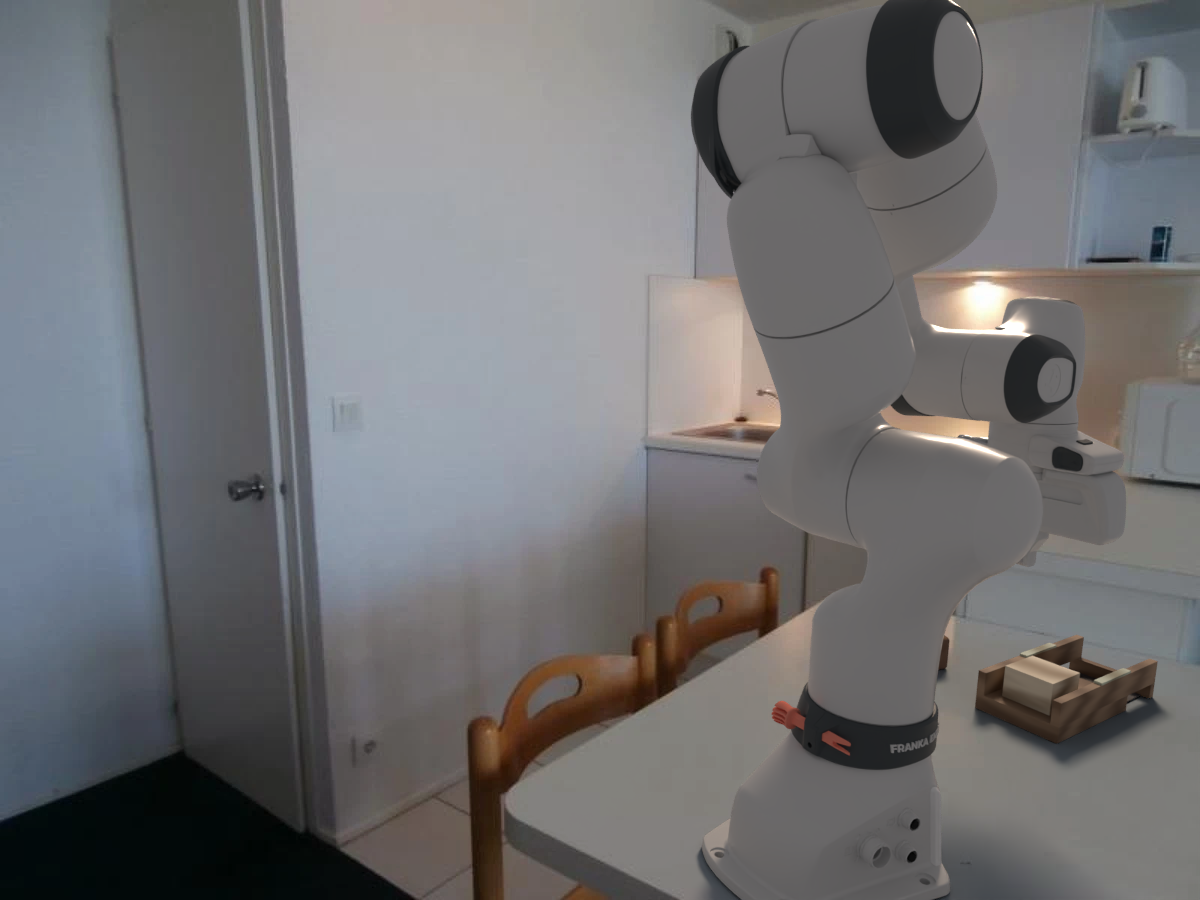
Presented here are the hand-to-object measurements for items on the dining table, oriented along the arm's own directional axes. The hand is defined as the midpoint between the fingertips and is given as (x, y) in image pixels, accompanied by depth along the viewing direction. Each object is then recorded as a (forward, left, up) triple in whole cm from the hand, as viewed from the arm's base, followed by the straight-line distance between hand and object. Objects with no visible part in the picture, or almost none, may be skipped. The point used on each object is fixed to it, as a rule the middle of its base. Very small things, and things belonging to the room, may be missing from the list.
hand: (1018, 563), depth 98 cm
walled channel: (+14, 0, -21) cm, 25 cm away
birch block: (+8, 0, -19) cm, 20 cm away
